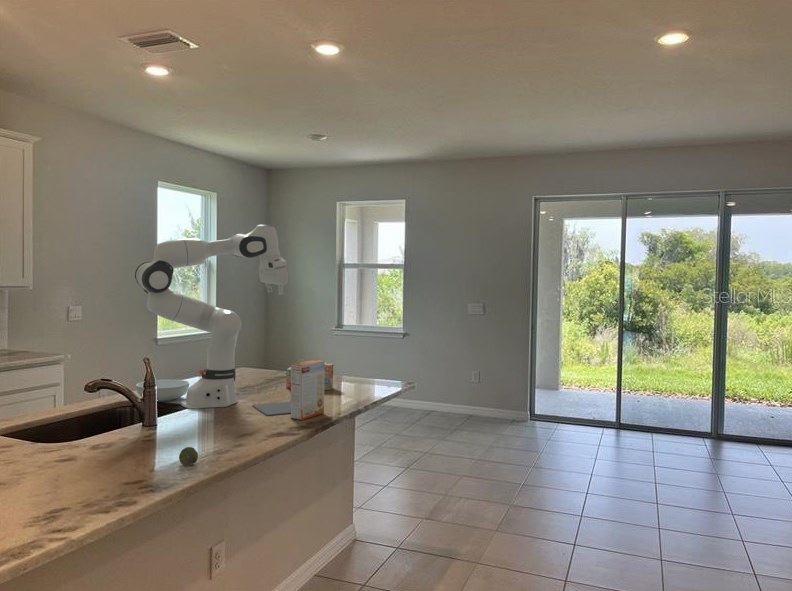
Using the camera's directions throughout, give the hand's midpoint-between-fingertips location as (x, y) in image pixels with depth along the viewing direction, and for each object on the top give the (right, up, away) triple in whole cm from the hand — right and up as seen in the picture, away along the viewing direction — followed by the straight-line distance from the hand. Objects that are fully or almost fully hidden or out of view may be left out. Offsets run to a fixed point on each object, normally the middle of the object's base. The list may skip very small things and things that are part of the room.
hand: (275, 293), depth 254 cm
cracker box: (+18, -47, -28) cm, 58 cm away
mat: (+7, -47, -17) cm, 50 cm away
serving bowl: (-46, -45, -7) cm, 65 cm away
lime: (-7, -49, -88) cm, 101 cm away
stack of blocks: (+11, -45, +26) cm, 53 cm away
